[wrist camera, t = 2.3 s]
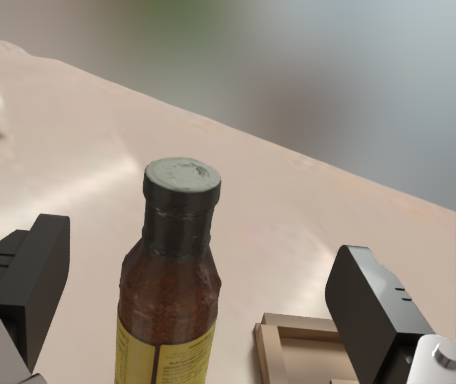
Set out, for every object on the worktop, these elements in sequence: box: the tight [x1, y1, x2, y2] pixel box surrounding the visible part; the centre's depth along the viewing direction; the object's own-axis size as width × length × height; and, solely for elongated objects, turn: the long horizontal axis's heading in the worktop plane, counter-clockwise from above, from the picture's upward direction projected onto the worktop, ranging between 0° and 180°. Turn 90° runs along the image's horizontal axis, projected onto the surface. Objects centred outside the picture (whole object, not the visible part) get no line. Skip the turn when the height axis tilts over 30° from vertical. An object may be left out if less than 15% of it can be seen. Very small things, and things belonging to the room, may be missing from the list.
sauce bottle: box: [114, 157, 221, 384], centre depth 27 cm, size 7×6×20 cm
